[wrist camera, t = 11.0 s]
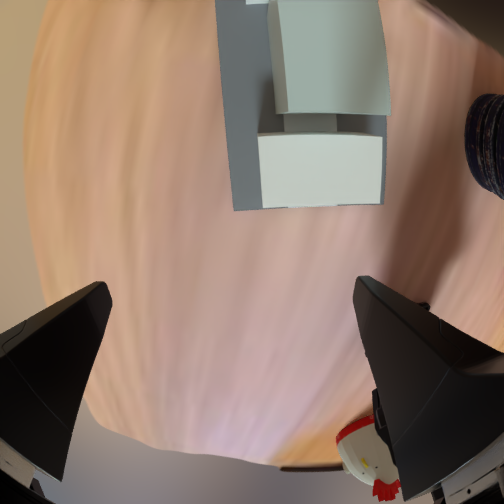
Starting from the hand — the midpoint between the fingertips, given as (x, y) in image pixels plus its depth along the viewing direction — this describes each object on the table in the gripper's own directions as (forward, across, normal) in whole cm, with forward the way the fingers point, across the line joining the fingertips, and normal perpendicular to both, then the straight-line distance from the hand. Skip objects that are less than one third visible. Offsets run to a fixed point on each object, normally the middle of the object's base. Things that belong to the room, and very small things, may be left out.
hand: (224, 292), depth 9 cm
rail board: (+12, -5, -9) cm, 16 cm away
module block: (+11, -5, -9) cm, 15 cm away
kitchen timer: (+12, -20, +40) cm, 47 cm away
